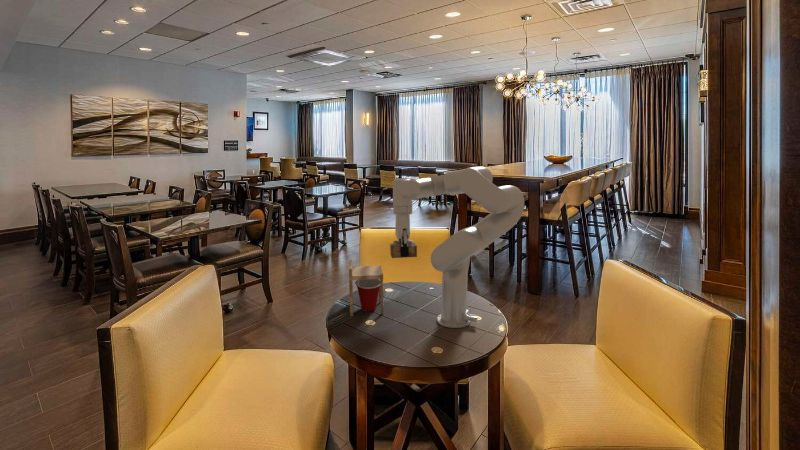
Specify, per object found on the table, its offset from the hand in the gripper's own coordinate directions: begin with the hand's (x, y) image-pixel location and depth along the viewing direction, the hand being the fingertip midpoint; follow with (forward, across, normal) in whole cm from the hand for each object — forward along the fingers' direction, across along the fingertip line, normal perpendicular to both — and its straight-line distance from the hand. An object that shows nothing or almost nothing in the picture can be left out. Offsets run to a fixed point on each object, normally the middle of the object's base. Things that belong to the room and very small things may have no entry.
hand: (403, 253), depth 172 cm
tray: (+1, 0, 0) cm, 1 cm away
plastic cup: (+23, -1, -15) cm, 27 cm away
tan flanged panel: (+23, -1, -16) cm, 28 cm away
